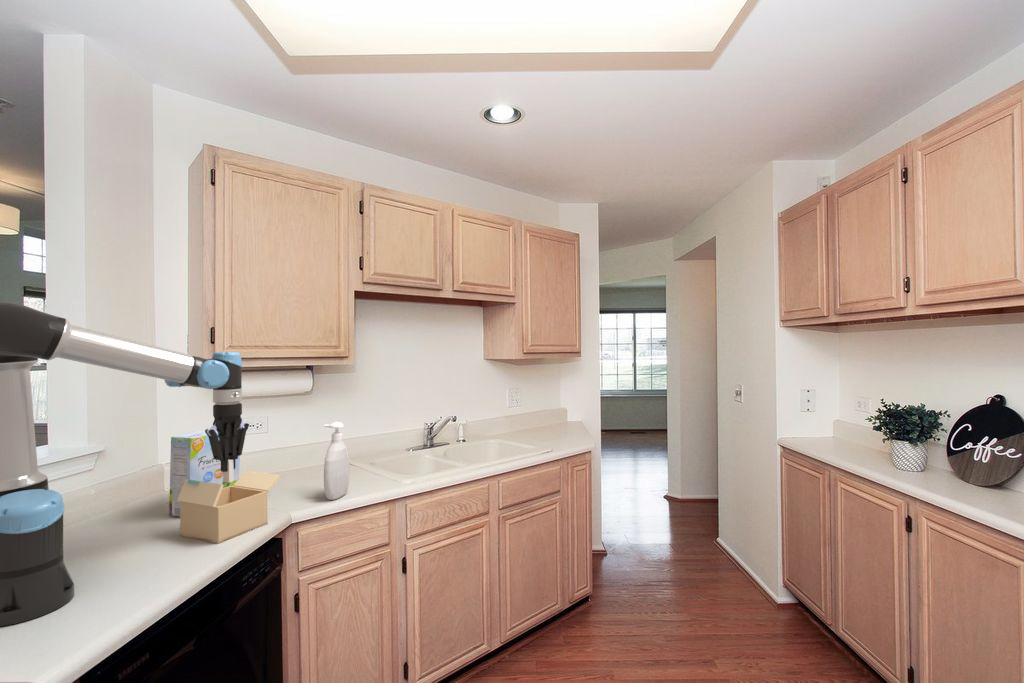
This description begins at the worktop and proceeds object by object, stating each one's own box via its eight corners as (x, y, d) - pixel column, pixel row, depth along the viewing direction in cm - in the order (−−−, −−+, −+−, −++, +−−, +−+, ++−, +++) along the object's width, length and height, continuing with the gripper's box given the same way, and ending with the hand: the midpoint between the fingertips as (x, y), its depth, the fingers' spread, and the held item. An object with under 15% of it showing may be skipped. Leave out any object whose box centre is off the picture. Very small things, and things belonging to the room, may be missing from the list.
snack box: (190, 518, 155) (190, 437, 155) (167, 517, 157) (167, 436, 157) (241, 497, 176) (241, 426, 176) (220, 496, 178) (220, 425, 178)
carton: (218, 543, 135) (218, 507, 135) (180, 535, 141) (180, 500, 142) (267, 523, 150) (267, 491, 150) (231, 517, 156) (230, 485, 156)
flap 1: (215, 507, 135) (212, 506, 134) (179, 500, 141) (176, 500, 140) (223, 484, 137) (220, 484, 137) (188, 479, 143) (185, 478, 142)
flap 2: (280, 474, 155) (281, 477, 156) (246, 470, 161) (248, 472, 162) (267, 490, 151) (269, 492, 151) (233, 485, 157) (234, 487, 157)
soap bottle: (335, 489, 185) (335, 418, 185) (355, 490, 183) (355, 418, 183) (313, 502, 170) (313, 424, 170) (335, 503, 169) (334, 425, 169)
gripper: (215, 406, 139) (216, 489, 139) (255, 401, 151) (256, 477, 151) (198, 405, 142) (198, 486, 142) (238, 400, 154) (238, 474, 154)
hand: (228, 481), depth 147 cm, fingers closed
